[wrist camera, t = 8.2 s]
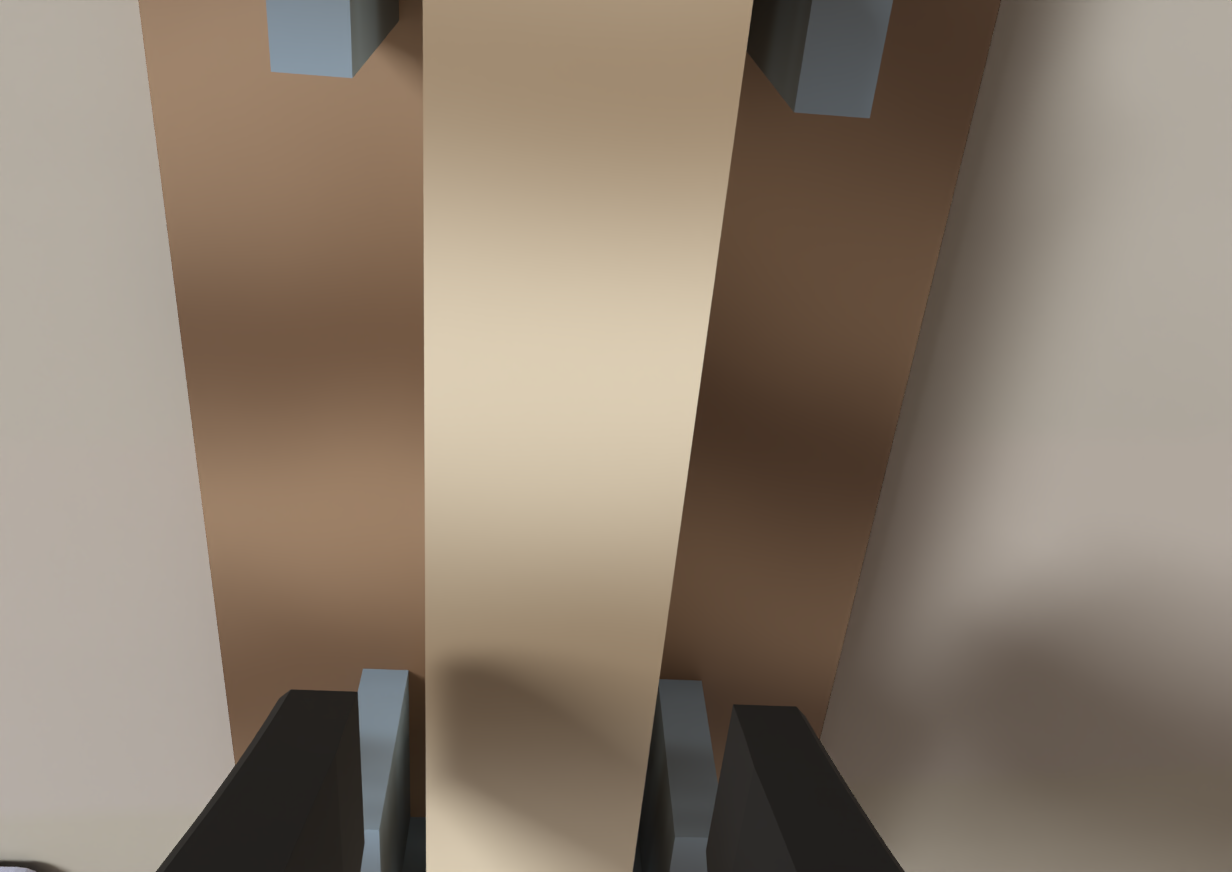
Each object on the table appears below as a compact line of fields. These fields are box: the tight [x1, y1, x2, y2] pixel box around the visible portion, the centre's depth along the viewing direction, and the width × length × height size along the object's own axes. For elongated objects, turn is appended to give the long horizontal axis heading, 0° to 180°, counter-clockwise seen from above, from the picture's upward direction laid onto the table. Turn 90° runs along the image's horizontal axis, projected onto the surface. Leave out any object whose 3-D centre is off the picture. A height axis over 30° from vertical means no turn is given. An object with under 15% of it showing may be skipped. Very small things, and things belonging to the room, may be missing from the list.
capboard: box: [138, 0, 1001, 872], centre depth 16 cm, size 21×11×4 cm, turn 175°
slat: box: [423, 0, 753, 872], centre depth 14 cm, size 16×2×6 cm, turn 175°
